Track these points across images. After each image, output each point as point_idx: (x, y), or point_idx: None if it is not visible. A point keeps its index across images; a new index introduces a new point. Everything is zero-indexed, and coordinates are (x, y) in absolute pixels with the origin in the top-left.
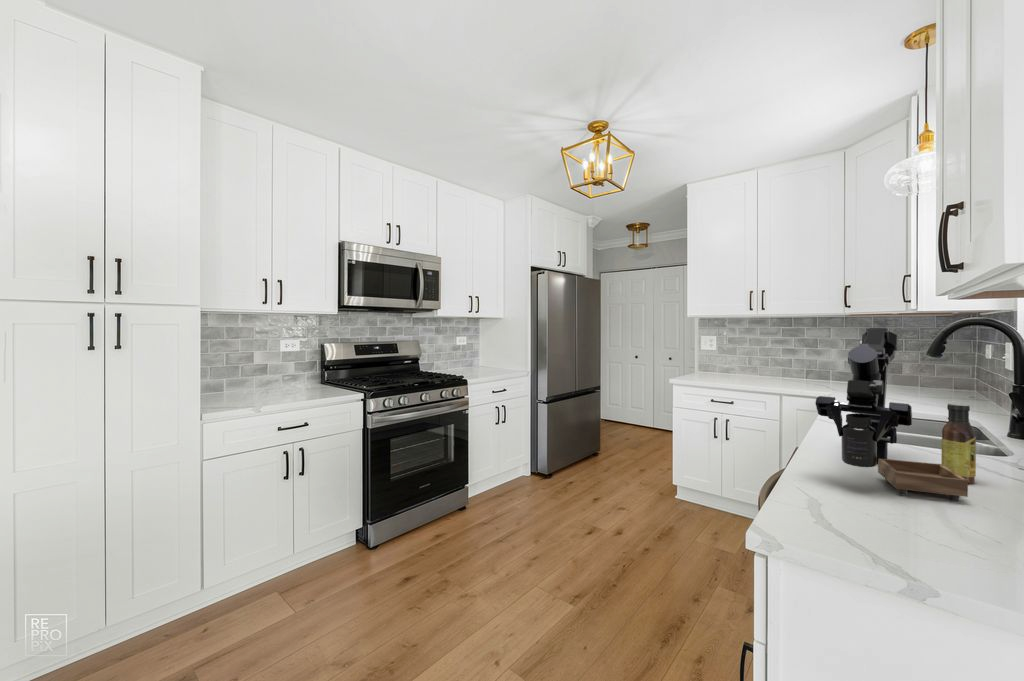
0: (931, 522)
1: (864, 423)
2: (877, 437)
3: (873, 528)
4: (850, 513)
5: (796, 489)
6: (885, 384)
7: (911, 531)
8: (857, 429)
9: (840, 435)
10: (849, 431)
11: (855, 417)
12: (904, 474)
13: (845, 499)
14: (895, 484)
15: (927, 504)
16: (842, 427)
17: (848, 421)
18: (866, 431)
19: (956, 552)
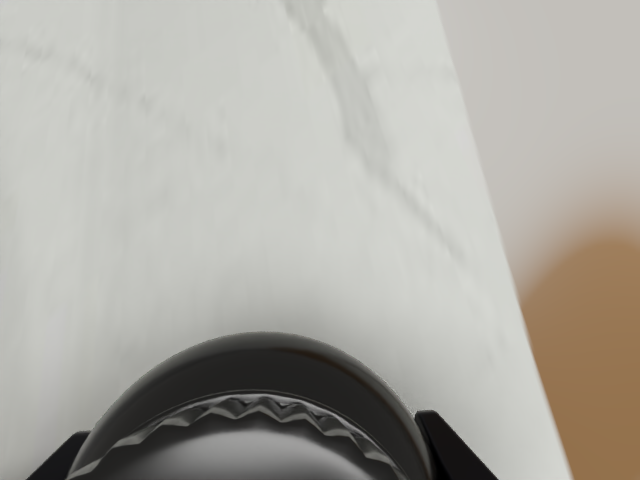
0: (48, 210)
1: (126, 436)
2: (62, 451)
3: (195, 50)
4: (260, 119)
5: (451, 228)
6: None
7: (107, 94)
8: (242, 363)
9: (414, 418)
10: (327, 349)
11: (253, 411)
12: None
13: (296, 243)
14: None
15: (37, 420)
16: (435, 474)
17: (376, 440)
18: (144, 384)
19: (19, 30)
